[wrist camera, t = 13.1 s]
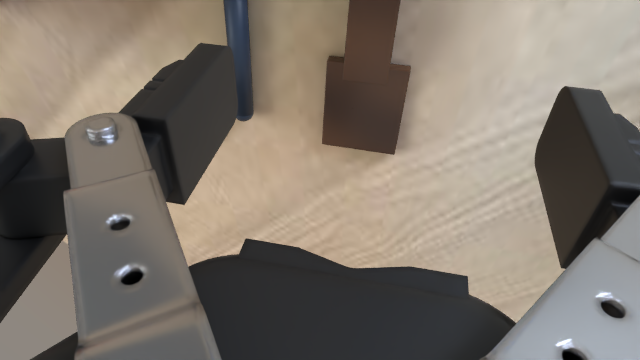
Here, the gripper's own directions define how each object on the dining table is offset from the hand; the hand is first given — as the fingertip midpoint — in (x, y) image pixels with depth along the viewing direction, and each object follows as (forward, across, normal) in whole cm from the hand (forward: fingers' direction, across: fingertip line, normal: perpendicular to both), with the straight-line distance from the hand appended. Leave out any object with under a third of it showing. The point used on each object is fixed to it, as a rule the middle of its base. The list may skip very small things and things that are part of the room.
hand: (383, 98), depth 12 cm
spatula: (+19, +2, +5) cm, 20 cm away
